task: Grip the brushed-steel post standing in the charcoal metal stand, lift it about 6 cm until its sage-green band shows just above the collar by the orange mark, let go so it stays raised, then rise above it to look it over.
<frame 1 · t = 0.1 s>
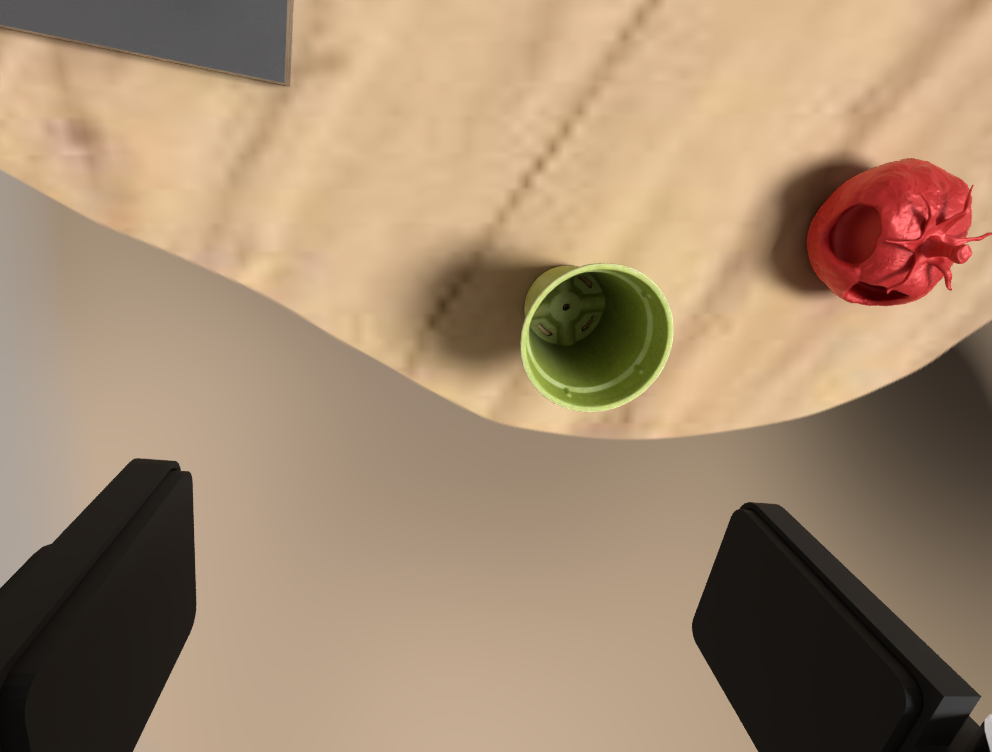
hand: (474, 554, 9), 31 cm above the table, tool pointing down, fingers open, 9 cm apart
pomegranate: (849, 230, 42), on the table
plant pot: (562, 305, 41), on the table
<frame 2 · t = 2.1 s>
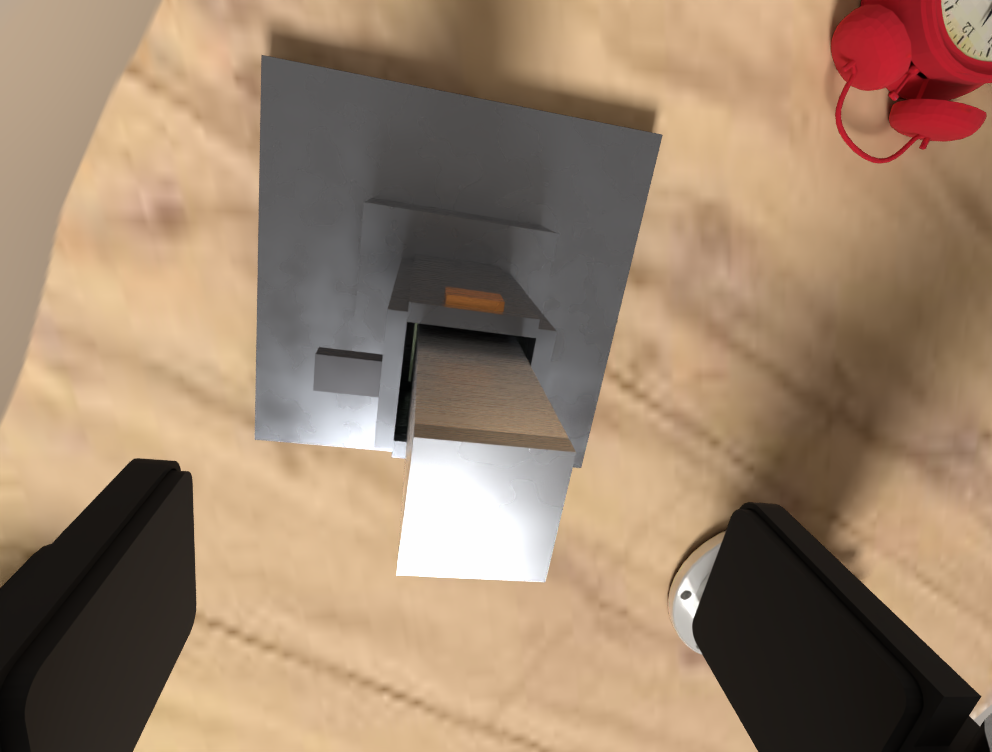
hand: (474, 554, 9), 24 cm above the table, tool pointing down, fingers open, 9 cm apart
charcoal stand: (446, 289, 32), on the table
steel post: (460, 373, 19), point 14 cm above the table, slide at 0.0 cm
alarm clock: (920, 27, 30), on the table
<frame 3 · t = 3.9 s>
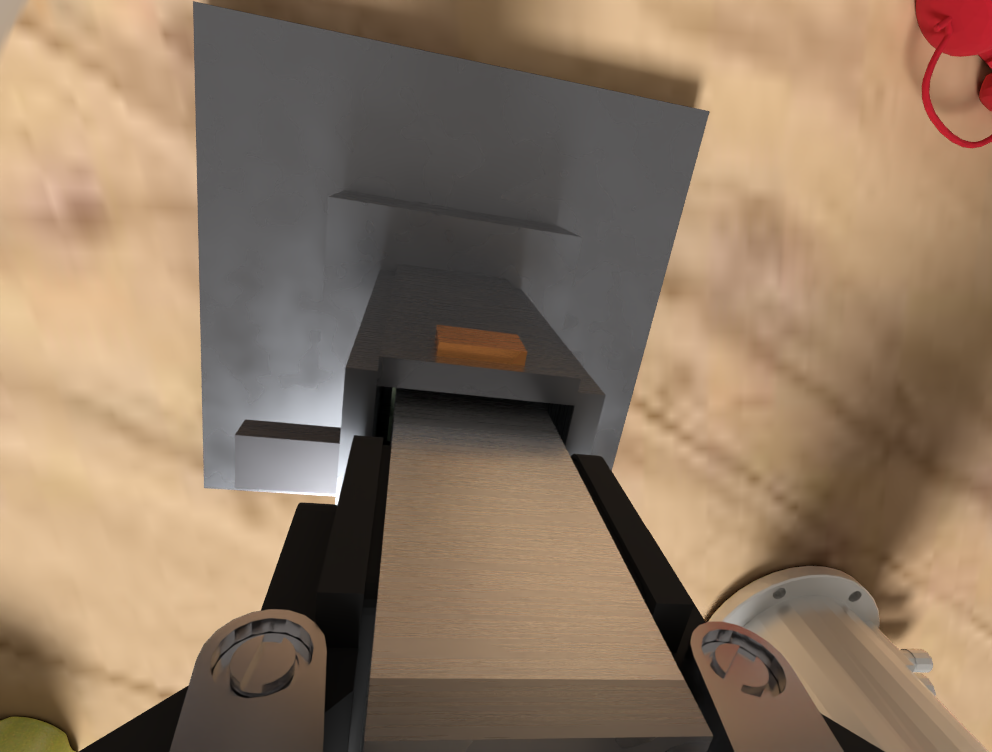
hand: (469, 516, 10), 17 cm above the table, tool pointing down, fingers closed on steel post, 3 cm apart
charcoal stand: (438, 303, 26), on the table
plant pot: (22, 746, 33), on the table
steel post: (459, 445, 13), point 14 cm above the table, slide at 0.0 cm, touching gripper
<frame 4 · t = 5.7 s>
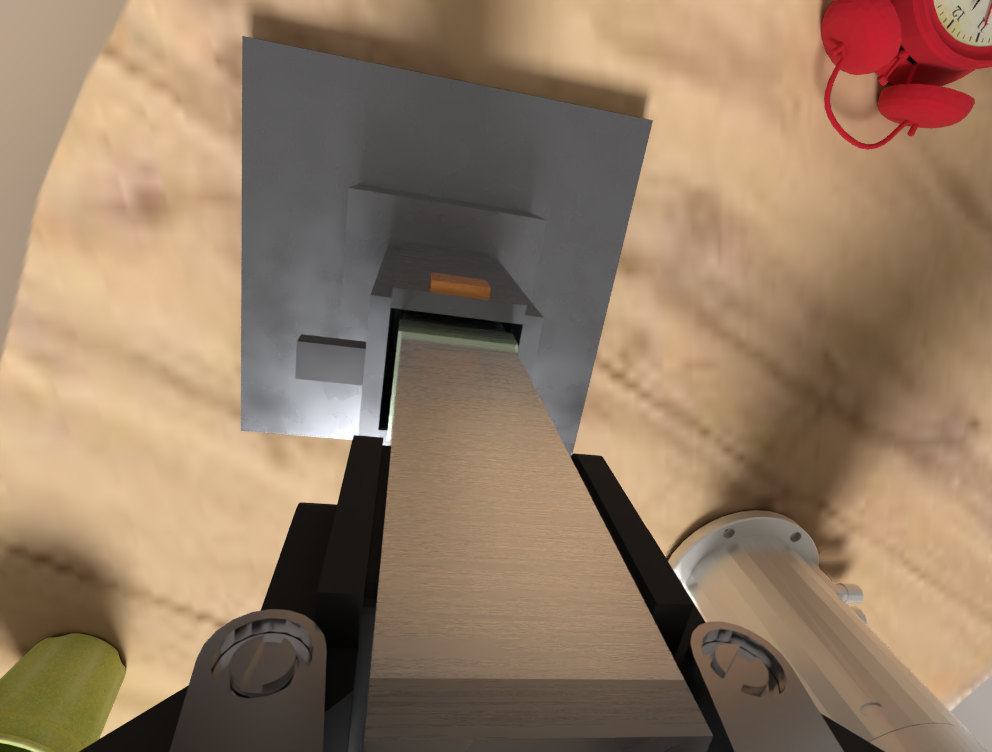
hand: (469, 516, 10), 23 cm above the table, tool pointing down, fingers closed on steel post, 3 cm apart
charcoal stand: (434, 278, 31), on the table
plant pot: (79, 661, 38), on the table
steel post: (458, 445, 13), point 20 cm above the table, slide at 5.9 cm, touching gripper
alarm clock: (910, 11, 30), on the table
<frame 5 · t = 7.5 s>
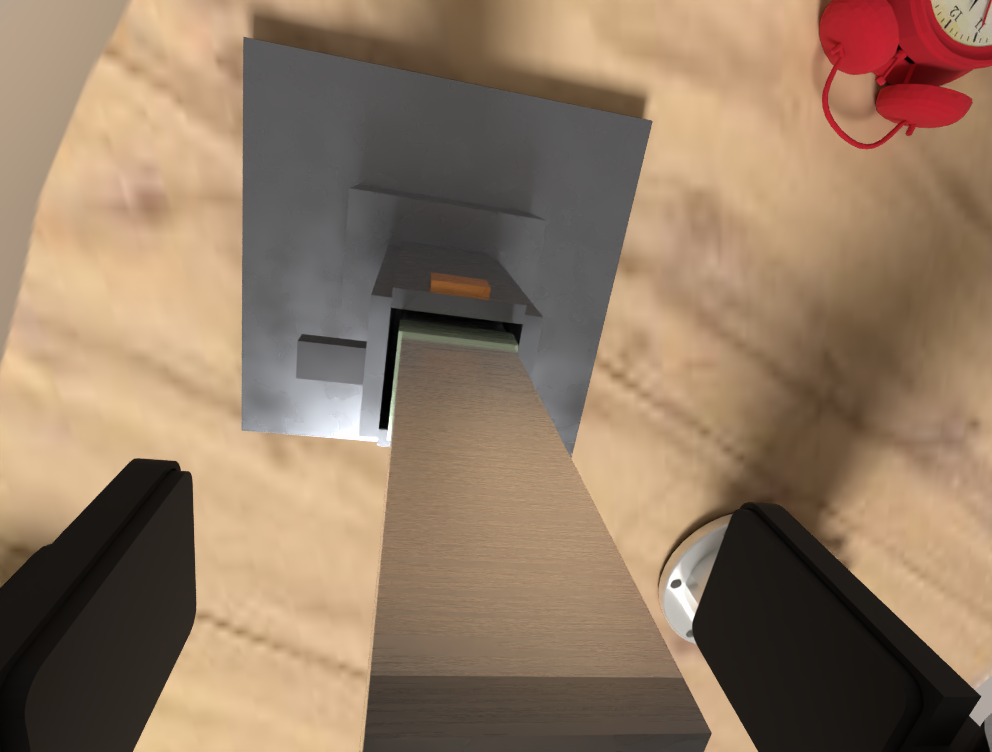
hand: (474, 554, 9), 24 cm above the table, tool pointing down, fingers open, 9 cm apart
charcoal stand: (435, 278, 31), on the table
steel post: (459, 445, 13), point 20 cm above the table, slide at 6.0 cm
alarm clock: (908, 11, 30), on the table
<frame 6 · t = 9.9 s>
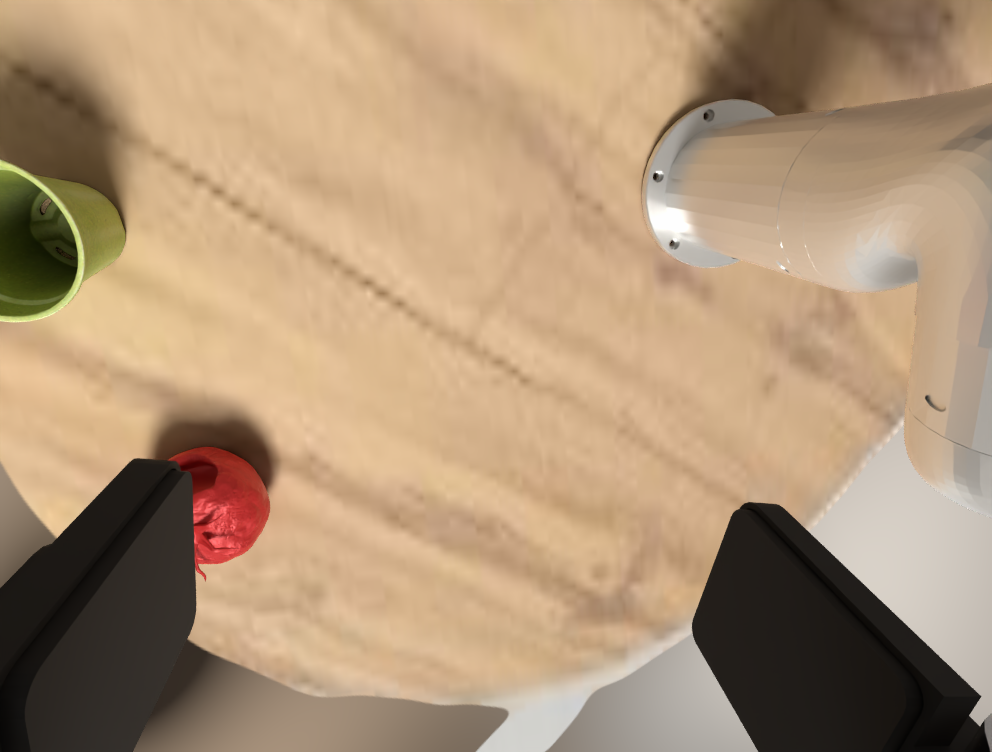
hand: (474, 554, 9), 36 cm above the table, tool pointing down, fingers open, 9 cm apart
pomegranate: (219, 483, 48), on the table
plant pot: (80, 225, 39), on the table
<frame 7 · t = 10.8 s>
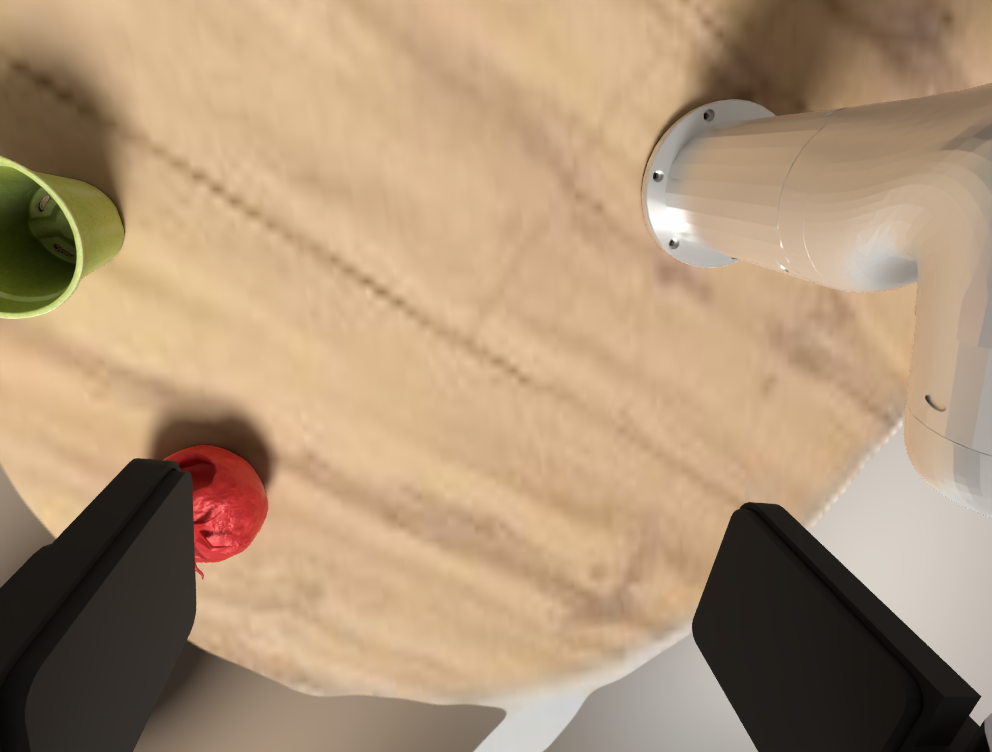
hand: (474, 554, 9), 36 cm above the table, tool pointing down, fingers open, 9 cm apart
pomegranate: (217, 481, 48), on the table
plant pot: (79, 222, 39), on the table
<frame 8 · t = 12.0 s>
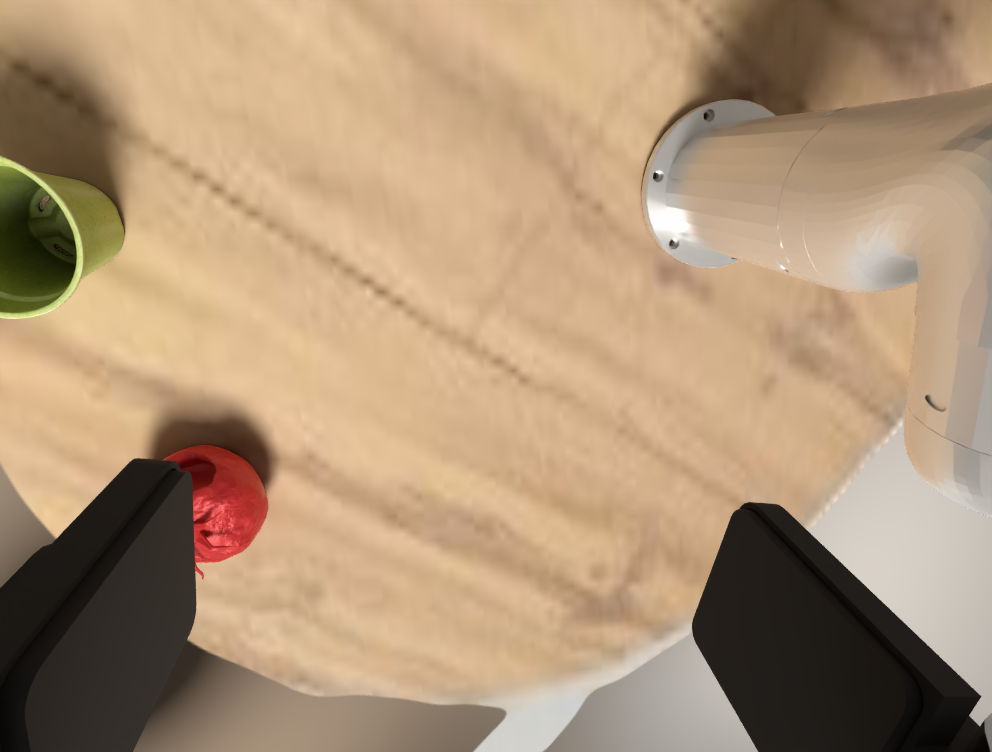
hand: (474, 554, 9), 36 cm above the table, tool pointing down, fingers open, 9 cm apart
pomegranate: (217, 481, 48), on the table
plant pot: (79, 222, 39), on the table
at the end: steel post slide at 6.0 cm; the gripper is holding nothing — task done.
